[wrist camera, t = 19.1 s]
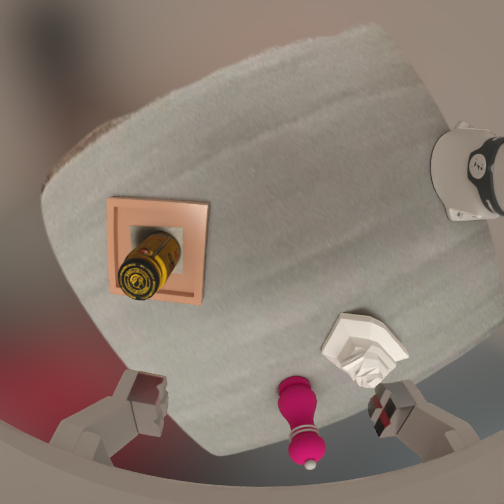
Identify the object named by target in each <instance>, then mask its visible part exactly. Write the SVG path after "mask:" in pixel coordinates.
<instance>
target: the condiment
mask: <svg viewBox="0 0 504 504" xmlns="http://www.w3.org/2000/svg"><path fill="white" fill-rule="evenodd" d="M130 240H131V252H130V253H129V254H128V255H127V256H126V258H125V260H124V263H122V265H121V266H120V269H119V271H118V283H119V286H120V288H121V289H122V291H123V292H124V293H125V294H126V295H127V296H129V297H131V298H132V299H135V300H146V299H148V298H151V297H152V296H153V295H154V294H155V293H156V292H157V291H158V290H160V289H161V288H162V287H163V286H164V284H165V283H166V281H167V279H168V278H169V276H170V274H171V273H177V274H183V228H180V227H155V226H154V227H149V226H130Z"/></svg>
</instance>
